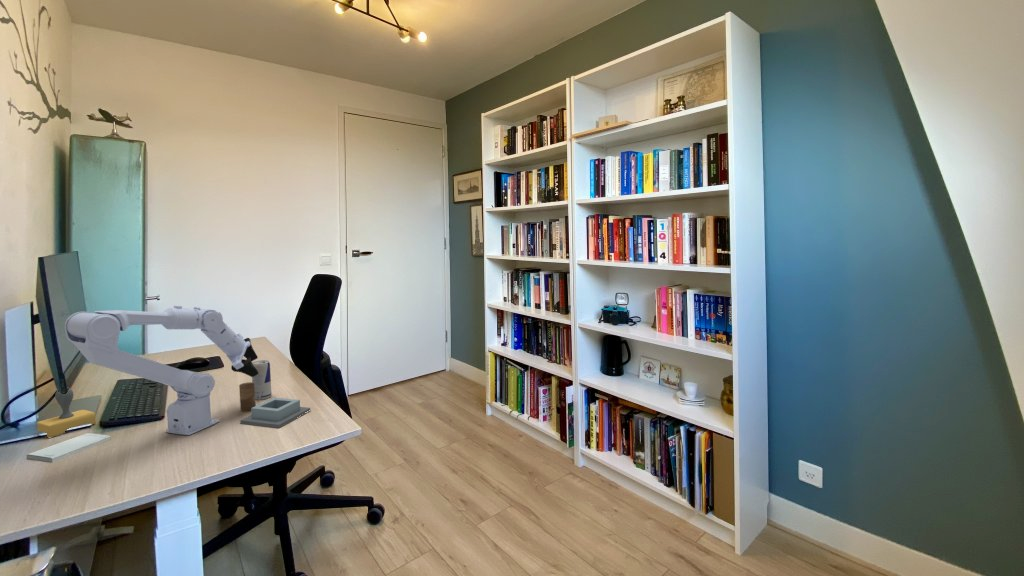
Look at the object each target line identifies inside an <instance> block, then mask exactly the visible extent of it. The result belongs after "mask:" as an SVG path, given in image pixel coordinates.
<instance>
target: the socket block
mask: <svg viewBox="0 0 1024 576" xmlns="http://www.w3.org/2000/svg"><path fill="white" fill-rule="evenodd" d="M300 401H301V400H300V399H292V398H282V397H273V398H270V399H269V400H266V401H263V402H262V403H260V404H258V405H256V406H255V407H253V408H251V411H250V412H251V413H250V414H251V415H248V416H246V417H244V418H241V419H240V420H239V422H240V423H239V424H241V425H250V426H258V427H259V426H260V427H265V428H266V427H267V428H273V429H275V428H276V429H280V428H282V427H284V426H286V425H287V424H290V423H291V422H293V421H295V420H297V419H298V418H297V417H299V416H300V415H302V414H304V413H305V412H307V411H309V410H310V411H311V407H304V406H301V402H300ZM304 415H305V414H304ZM302 416H303V415H302ZM300 417H301V416H300ZM300 417H299V418H300ZM296 418H297V419H296ZM294 419H295V420H294ZM292 420H293V421H292ZM289 422H290V423H289Z"/></svg>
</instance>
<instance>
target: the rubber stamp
mask: <svg viewBox="0 0 1024 576" xmlns="http://www.w3.org/2000/svg"><path fill="white" fill-rule="evenodd" d="M68 388H69V390H68V392H67V393H66V394H61V393H60V392H58V390H59V389H58V390H56V391H55V396H54V397H55V400H56V402H57V404H58V405H59V406H60V408H61V410H62V414H60V415H58V416H54V417H50V418H46V419H44V420H39V421H37V422H36V425H37V432H38V431H42V432H45V433H47V437H52V438H55V437H54V436H56V437H58V436H57V435H59V436H61V435H60V434H62V435H64V434H63V433H65V431H67V429H69V428H71V427H75V426H79V425H82V424H86V423H92V424H95V425H97V420H96V412H94V411H91V410H86V409H80V410H76V411H72V412H71V411H70V406H71V403H72V401H73V398H74V391H73V390H72V389H71V388H70V387H68ZM65 434H66V433H65Z"/></svg>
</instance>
